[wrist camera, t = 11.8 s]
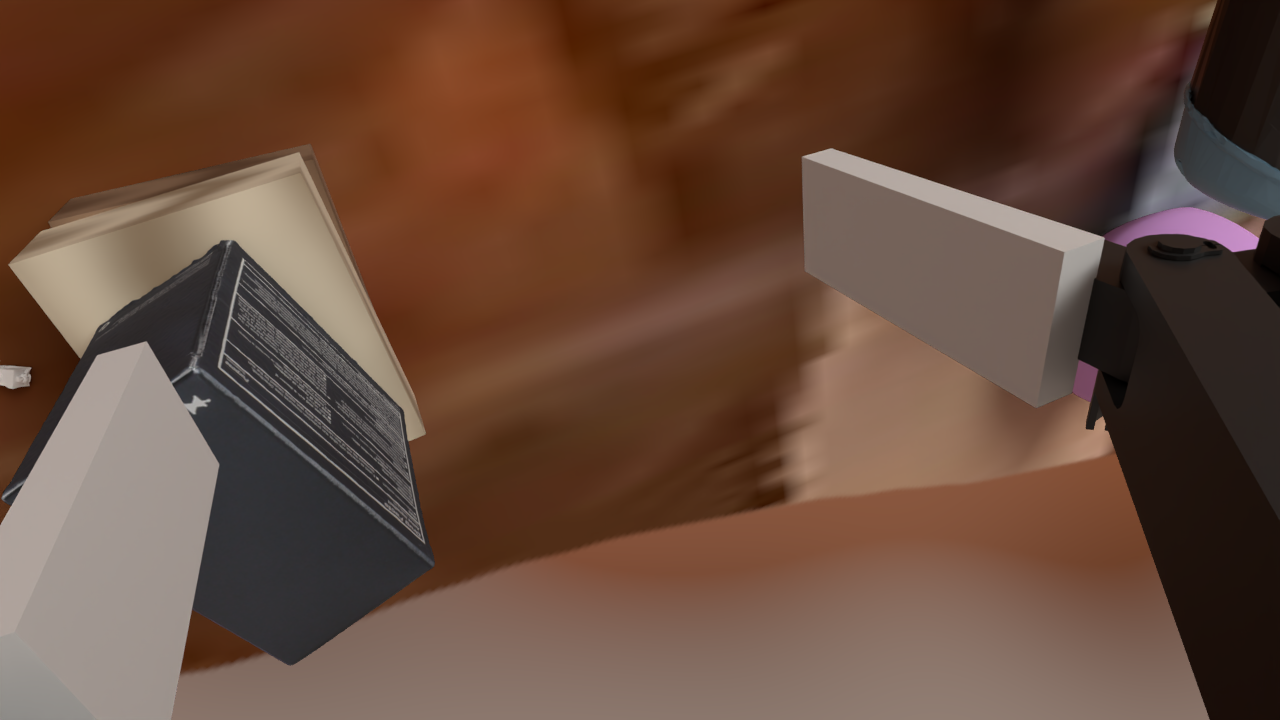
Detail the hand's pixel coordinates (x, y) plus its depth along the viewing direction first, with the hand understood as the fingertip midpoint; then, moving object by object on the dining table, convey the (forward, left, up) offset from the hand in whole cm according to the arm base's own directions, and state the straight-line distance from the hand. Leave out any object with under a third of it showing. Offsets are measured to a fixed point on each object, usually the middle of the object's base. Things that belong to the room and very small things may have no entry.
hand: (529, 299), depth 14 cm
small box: (+8, +8, -17) cm, 21 cm away
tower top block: (+9, +7, -21) cm, 24 cm away
